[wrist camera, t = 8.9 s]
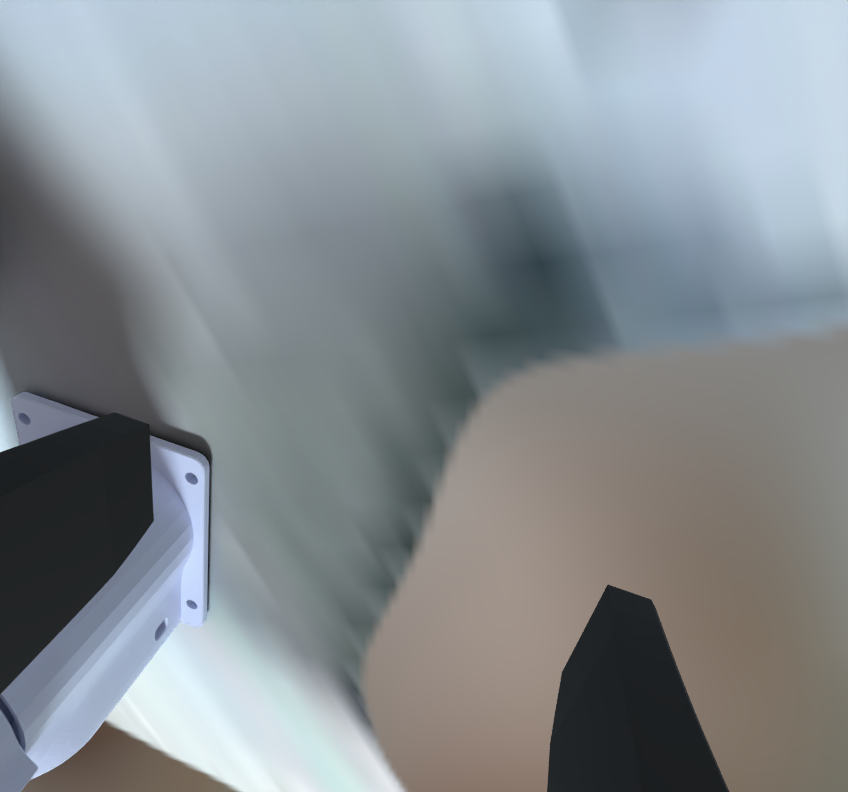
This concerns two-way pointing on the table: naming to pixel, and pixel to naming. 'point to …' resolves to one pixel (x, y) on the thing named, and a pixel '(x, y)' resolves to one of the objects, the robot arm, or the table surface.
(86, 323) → the table surface
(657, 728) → the robot arm
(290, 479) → the table surface
